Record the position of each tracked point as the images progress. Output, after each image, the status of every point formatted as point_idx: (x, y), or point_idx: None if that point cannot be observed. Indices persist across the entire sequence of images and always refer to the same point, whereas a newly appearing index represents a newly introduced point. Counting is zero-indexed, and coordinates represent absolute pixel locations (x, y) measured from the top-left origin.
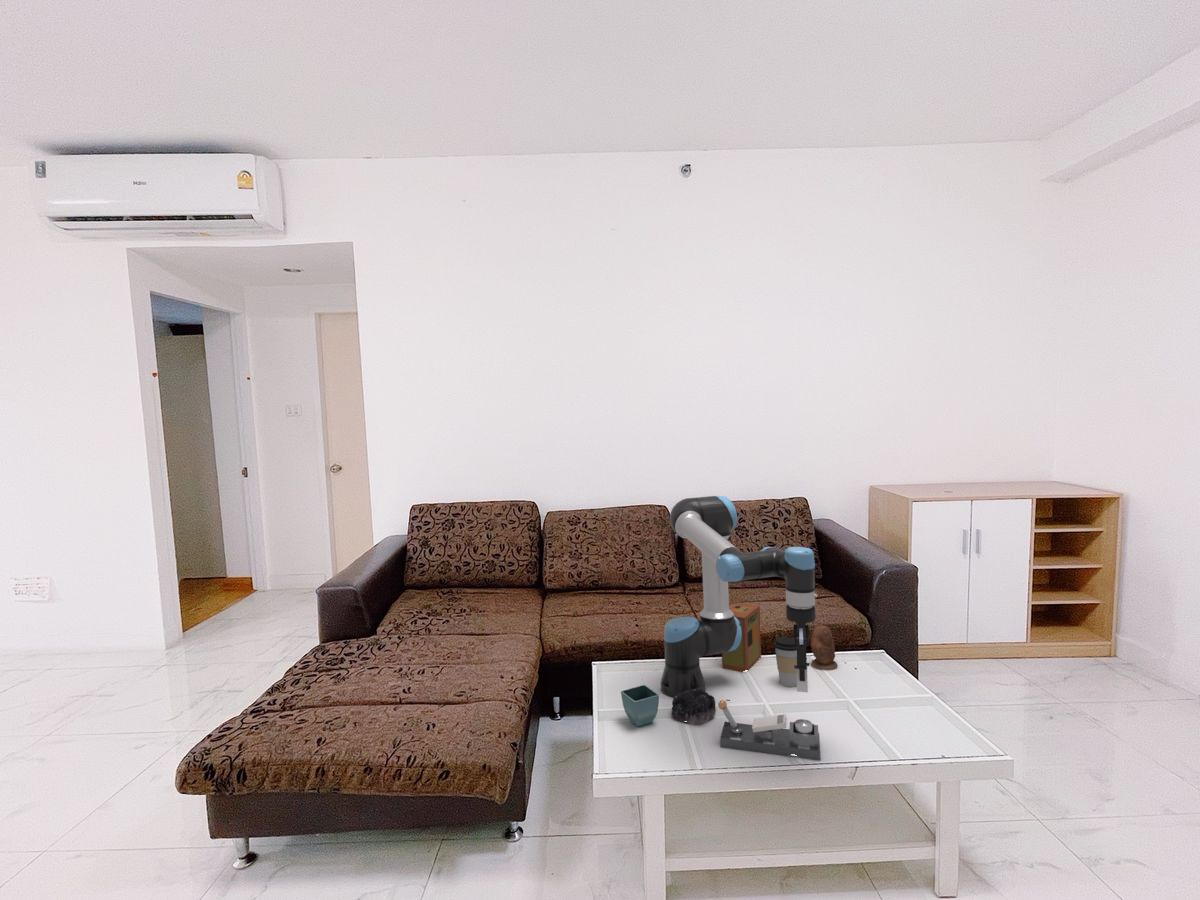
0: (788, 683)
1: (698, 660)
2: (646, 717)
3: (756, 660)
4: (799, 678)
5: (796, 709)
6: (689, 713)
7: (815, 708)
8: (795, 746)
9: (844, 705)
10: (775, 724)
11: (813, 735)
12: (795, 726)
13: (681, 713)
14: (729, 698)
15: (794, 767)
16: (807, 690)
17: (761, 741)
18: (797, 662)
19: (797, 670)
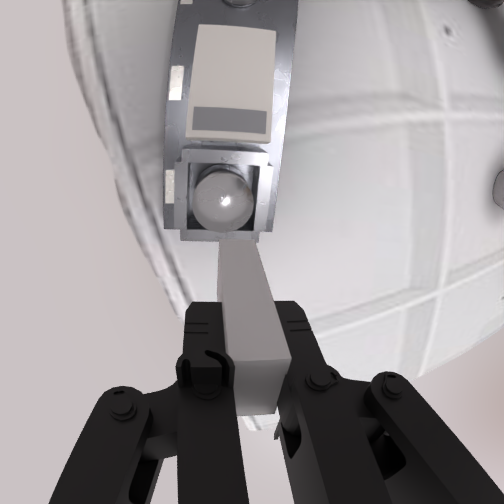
0: (499, 187)
1: None
2: None
3: None
4: (185, 316)
5: (421, 183)
6: None
7: (422, 227)
8: (173, 162)
9: (423, 283)
10: (191, 101)
11: (183, 226)
12: (216, 172)
13: None
14: (453, 36)
15: (115, 155)
16: (217, 298)
17: (184, 60)
18: (71, 460)
19: (227, 345)
